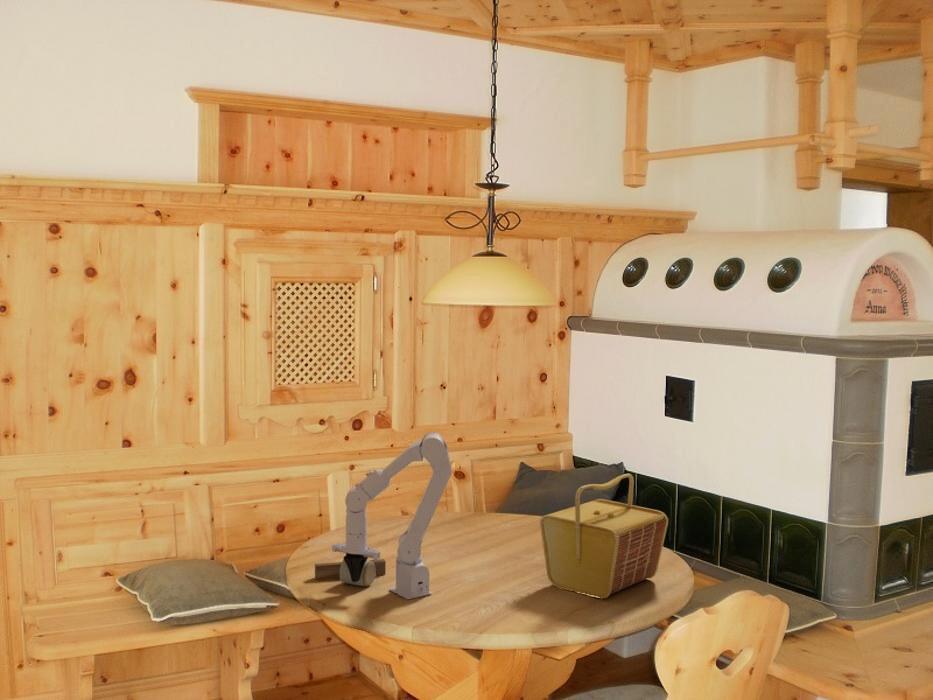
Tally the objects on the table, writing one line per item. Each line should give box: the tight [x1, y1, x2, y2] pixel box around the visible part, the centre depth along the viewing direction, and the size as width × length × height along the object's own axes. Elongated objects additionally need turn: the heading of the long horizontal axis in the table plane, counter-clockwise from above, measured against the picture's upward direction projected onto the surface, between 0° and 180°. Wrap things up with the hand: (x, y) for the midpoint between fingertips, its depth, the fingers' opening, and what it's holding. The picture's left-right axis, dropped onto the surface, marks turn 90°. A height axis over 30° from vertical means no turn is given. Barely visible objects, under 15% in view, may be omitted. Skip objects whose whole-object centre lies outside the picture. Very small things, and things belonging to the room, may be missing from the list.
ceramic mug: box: [339, 559, 377, 587], centre depth 280 cm, size 11×8×8 cm
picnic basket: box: [539, 473, 669, 599], centre depth 284 cm, size 29×26×30 cm
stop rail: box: [314, 558, 387, 581], centre depth 286 cm, size 2×20×4 cm, turn 107°
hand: (355, 580), depth 273 cm, fingers closed
